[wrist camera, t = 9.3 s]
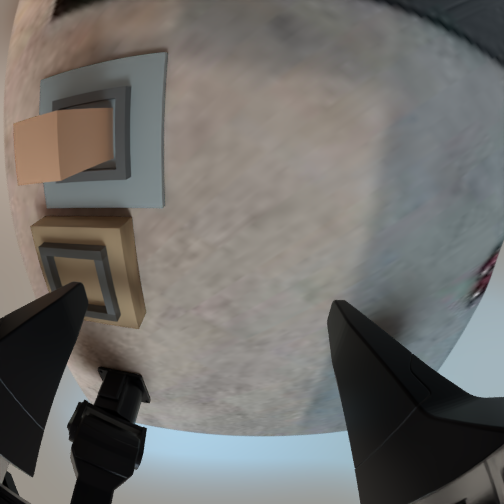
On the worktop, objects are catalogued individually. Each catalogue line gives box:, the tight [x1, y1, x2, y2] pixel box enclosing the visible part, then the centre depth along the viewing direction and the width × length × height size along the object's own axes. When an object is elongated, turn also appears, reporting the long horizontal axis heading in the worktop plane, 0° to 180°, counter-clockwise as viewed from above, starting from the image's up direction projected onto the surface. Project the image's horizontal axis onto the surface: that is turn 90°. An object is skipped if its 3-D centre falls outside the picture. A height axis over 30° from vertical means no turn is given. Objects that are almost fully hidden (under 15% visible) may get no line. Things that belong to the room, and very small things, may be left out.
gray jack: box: [39, 52, 168, 208], centre depth 17 cm, size 12×12×2 cm
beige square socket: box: [30, 216, 146, 329], centre depth 22 cm, size 10×10×4 cm
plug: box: [13, 108, 114, 186], centre depth 14 cm, size 4×4×7 cm
